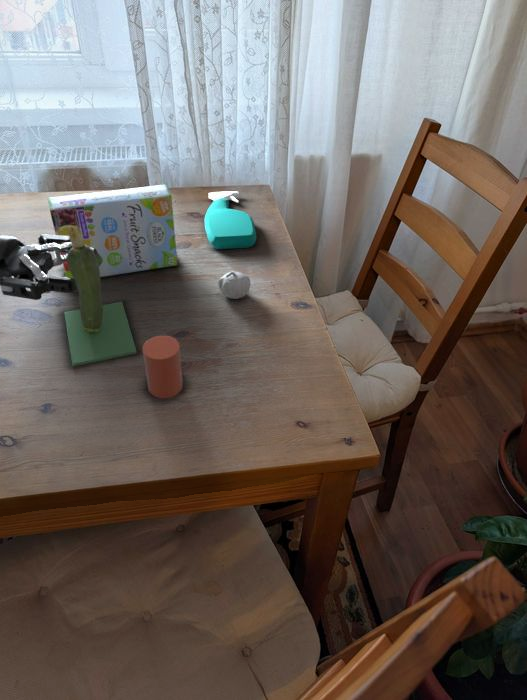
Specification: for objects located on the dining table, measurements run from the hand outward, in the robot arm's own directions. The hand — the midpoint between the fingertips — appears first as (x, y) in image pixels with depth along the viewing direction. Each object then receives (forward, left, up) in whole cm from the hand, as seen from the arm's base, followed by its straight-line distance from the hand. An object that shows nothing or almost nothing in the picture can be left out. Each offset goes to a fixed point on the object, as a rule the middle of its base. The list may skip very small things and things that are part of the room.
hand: (86, 269), depth 80 cm
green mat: (0, 0, -13) cm, 13 cm away
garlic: (+19, -17, -13) cm, 28 cm away
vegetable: (0, 0, -12) cm, 12 cm away
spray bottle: (+45, -5, -13) cm, 47 cm away
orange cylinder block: (-7, -16, -13) cm, 21 cm away
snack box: (+19, +7, -13) cm, 24 cm away
